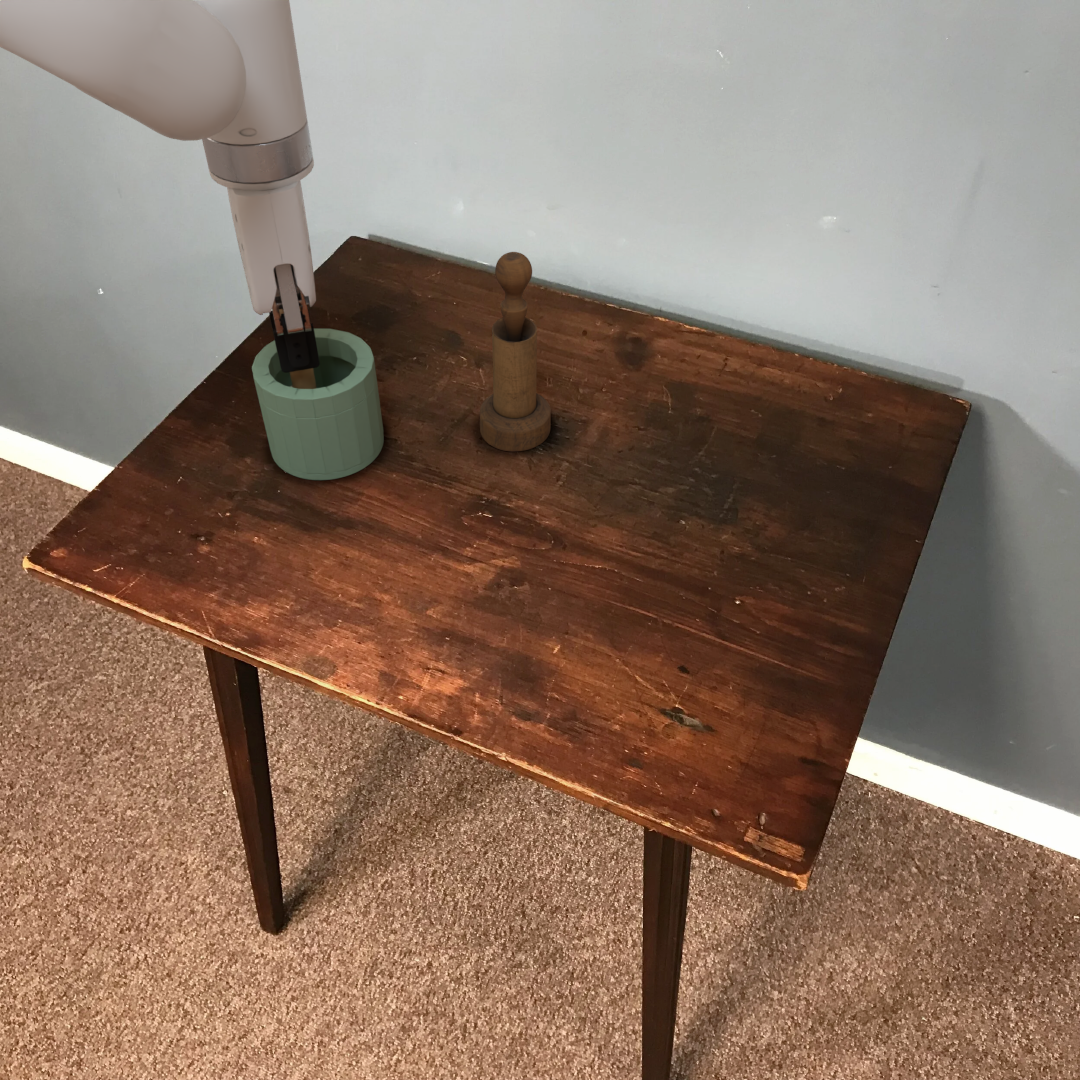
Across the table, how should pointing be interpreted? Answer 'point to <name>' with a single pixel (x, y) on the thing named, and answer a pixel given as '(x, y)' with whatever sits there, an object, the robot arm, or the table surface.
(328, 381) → the jar
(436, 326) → the table surface
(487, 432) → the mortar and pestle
